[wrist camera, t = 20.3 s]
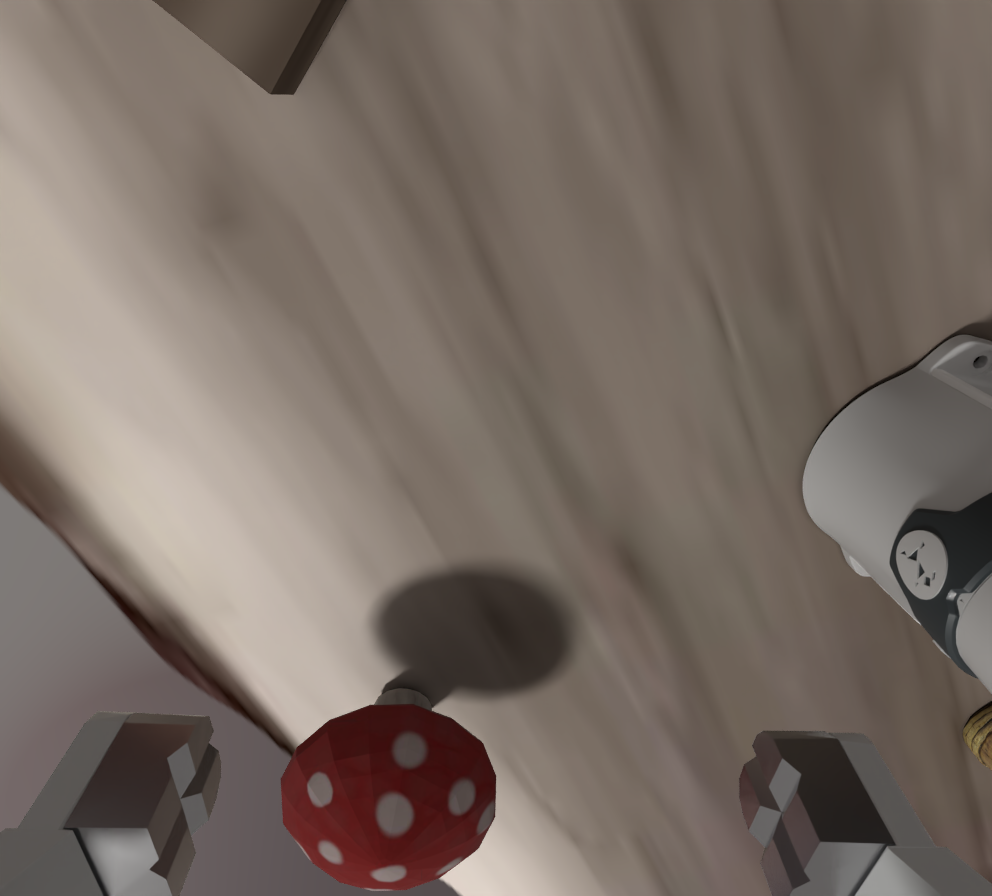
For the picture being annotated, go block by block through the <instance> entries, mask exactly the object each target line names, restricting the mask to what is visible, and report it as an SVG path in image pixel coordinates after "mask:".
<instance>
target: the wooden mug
mask: <svg viewBox="0 0 992 896" xmlns="http://www.w3.org/2000/svg"><path fill="white" fill-rule="evenodd" d="M963 739H964V741H965V743H966V744H967V746H968V747H969V748H970V749H971V751H972V752H973V753H974V754H975V756H976V757H977V758H978V760H979V761H980V762H981V763H982V764H983V765H985V766H987V767H989V768H990V769H991V771H992V703H991V704H989V705H987V706H985V707H984V708H982V709H980V710H979V711H978V712H977V713H975V714H974V715H973V716H972V717H970V719H969V721H968V722H967V724H966V726H965V728H964V730H963Z"/></svg>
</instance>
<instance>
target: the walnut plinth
mask: <svg viewBox="0 0 992 896" xmlns="http://www.w3.org/2000/svg"><path fill="white" fill-rule="evenodd" d="M153 1H154V2H156V3H157V4H158V5H159V6H161V7H162V8H163V9H164V10H166V11H167V12H168V13H169V14H171V15H172V16H173V17H174V18H176V19H177V20H178V21H179V22H181V23H182V24H183V25H184V26H186V27H187V28H188V29H189V30H190V31H192V32H193V33H194V34H195V35H197V36H198V37H199V38H200V39H202V40H203V41H204V42H205V43H207V44H208V45H209V46H210V47H212V48H213V49H214V50H215V51H217V52H218V53H219V54H220V55H222V56H223V57H224V58H225V59H227V60H228V61H229V62H230V63H232V64H233V65H234V66H235V67H237V68H238V69H239V70H240V71H242V72H243V73H244V74H245V75H247V76H248V77H249V78H250V79H252V80H253V81H254V82H255V83H257V84H258V85H259V86H260V87H262V88H263V89H264V90H265V91H267V92H268V93H269V94H291V95H294V93H295V91H296V89H297V87H298V86H299V84H300V82H301V80H302V79H303V77H304V75H305V73H306V71H307V70H308V68H309V66H310V64H311V62H312V61H313V59H314V57H315V55H316V53H317V52H318V50H319V48H320V46H321V45H322V43H323V41H324V39H325V37H326V36H327V34H328V32H329V30H330V28H331V27H332V25H333V23H334V21H335V19H336V18H337V16H338V14H339V12H340V10H341V9H342V7H343V5H344V3H345V2H346V0H153Z"/></svg>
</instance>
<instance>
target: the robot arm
mask: <svg viewBox="0 0 992 896" xmlns="http://www.w3.org/2000/svg"><path fill="white" fill-rule="evenodd" d="M979 356H980V357H979ZM977 357H979V359H978V360H977V361H976V362H975V363H973V362H974V360H975V359H976V358H977ZM803 497H804V502H805V505H806V508H807V511H808V513H809V515H810V516H811V518H812V520H813V521H814V522H815V524H816V525H817V526H818V527H819V528H820V529H821V530H823V531H824V532H825V533H826V534H828V535H829V536H830V537H831V538H833V539H834V540H835V541H836V542H837V543H839V544H840V546H841V549H842V552H843V554H844V557H845V559H846V561H847V563H848V564H849V566H850V567H851V568H852V569H853V570H854V571H855V572H857V573H858V574H859V575H861V576H871V577H872V578H873V579H874V580H875V581H876V582H877V583H878V584H879V585H880V586H881V587H882V588H883V589H884V590H885V591H886V592H887V593H888V594H889V595H890V596H891V597H892V598H893V599H894V600H895V601H896V602H897V603H898V604H899V605H900V606H901V607H902V608H903V609H904V610H905V611H906V612H907V613H908V614H909V615H911V616H912V617H913V618H914V619H915V620H916V621H917V622H918V623H919V624H921V625H922V626H923V627H924V628H925V630H926V631H927V632H928V633H929V634H930V636H931V637H932V638H933V639H934V640H933V642H934V643H935V644H936V646H937V647H938V648H939V649H940V650H941V651H942V652H943V653H944V654H945V655H946V656H948V657H949V658H951V659H952V660H953V661H954V663H955V664H956V665H957V666H958V667H959V668H960V669H962V670H963V671H964V672H966V673H967V674H969V675H971V676H973V677H975V678H977V679H979V680H980V681H981V682H982V683H983V684H984V686H985V687H986V688H987V689H988V690H989V692H990V693H991V694H992V341H989V340H985V339H982V338H978V337H974V336H971V335H958V336H955V337H953V338H951V339H949V340H947V341H946V342H944V343H943V344H941V345H940V346H939V347H938V348H936V349H935V350H934V351H933V352H932V353H930V354H929V355H928V356H927V357H926V358H925V359H924V360H923V361H921V362H920V363H919V364H918V365H917V366H916V367H915V368H913V369H911V370H910V371H908V372H906V373H904V374H902V375H900V376H898V377H896V378H894V379H891V380H889V381H887V382H885V383H883V384H881V385H879V386H877V387H875V388H873V389H872V390H870V391H868V392H867V393H865V394H864V395H862V396H861V397H859V398H858V399H856V400H855V401H854V402H852V403H851V404H850V405H849V406H847V407H846V408H845V409H844V410H843V411H842V412H841V413H840V414H839V415H838V416H837V417H836V418H835V419H834V420H833V421H832V422H831V423H830V424H829V425H828V427H827V428H826V429H825V430H824V432H823V433H822V434H821V436H820V437H819V439H818V440H817V442H816V444H815V446H814V447H813V449H812V451H811V453H810V456H809V458H808V461H807V464H806V467H805V471H804V477H803ZM213 731H214V730H213V727H212V724H211V721H210V717H209V716H193V715H191V716H190V715H171V714H149V713H132V712H100V711H98V712H97V713H96V714H94V715H93V716H92V717H91V718H90V719H89V720H88V721H87V722H86V723H85V724H84V725H83V727H82V729H81V730H80V732H79V733H78V735H77V736H76V738H75V739H74V741H73V743H72V744H71V746H70V747H69V749H68V750H67V752H66V754H65V755H64V757H63V758H62V760H61V761H60V763H59V764H58V766H57V767H56V769H55V771H54V772H53V774H52V775H51V777H50V778H49V780H48V781H47V783H46V785H45V786H44V788H43V789H42V791H41V793H40V794H39V796H38V797H37V799H36V800H35V802H34V803H33V805H32V806H31V808H30V810H29V811H28V813H27V814H26V816H25V817H24V819H23V820H22V822H21V824H20V825H19V827H18V828H7V829H4V830H3V831H2V832H0V896H180V893H181V890H182V888H183V885H184V883H185V880H186V878H187V875H188V872H189V870H190V867H191V864H192V862H193V859H194V857H195V854H196V851H195V848H194V844H193V841H192V838H191V836H192V835H193V834H194V833H195V832H196V831H197V830H198V829H199V828H200V827H201V826H202V825H204V823H206V822H207V821H208V820H209V817H210V815H211V812H212V809H213V806H214V804H215V801H216V798H217V793H218V788H219V783H220V778H221V760H220V755H219V751H218V750H217V749H216V748H214V747H213V746H212V745H210V744H209V741H210V739H211V736H212V733H213ZM752 747H753V749H754V752H755V754H756V757H754V758H753V759H751V760H750V761H748V762H747V763H745V764H744V766H743V769H742V772H741V775H740V778H739V798H740V803H741V808H742V813H743V816H744V819H745V822H746V825H747V827H748V830H749V832H750V833H751V834H752V835H753V836H754V837H755V838H756V839H757V840H758V841H759V842H760V843H761V844H762V845H763V846H764V847H765V848H764V852H763V856H762V859H761V863H760V864H761V866H762V869H763V872H764V875H765V877H766V880H767V883H768V885H769V888H770V891H771V894H772V896H992V884H991V883H990V882H988V881H987V880H986V879H985V878H984V877H982V876H981V875H980V874H979V873H977V872H976V871H975V870H974V869H973V868H971V867H970V866H969V865H968V864H966V863H965V862H964V861H963V860H962V859H960V858H959V857H958V856H957V855H955V854H954V853H953V852H952V851H950V850H949V849H948V848H947V847H936V846H935V844H934V843H933V841H932V839H931V838H930V836H929V834H928V833H927V831H926V829H925V828H924V826H923V825H922V823H921V821H920V820H919V818H918V816H917V815H916V813H915V811H914V810H913V808H912V806H911V805H910V803H909V802H908V800H907V798H906V797H905V795H904V793H903V792H902V790H901V788H900V787H899V785H898V784H897V782H896V780H895V779H894V777H893V775H892V774H891V772H890V770H889V769H888V767H887V766H886V764H885V762H884V761H883V759H882V757H881V756H880V754H879V752H878V751H877V749H876V747H875V746H874V744H873V743H872V741H871V740H870V739H869V738H867V737H866V736H865V735H864V734H860V733H826V732H825V731H762V732H761V733H759V734H757V736H756V738H755V740H754V742H753V745H752Z"/></svg>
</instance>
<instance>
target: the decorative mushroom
mask: <svg viewBox="0 0 992 896" xmlns="http://www.w3.org/2000/svg"><path fill="white" fill-rule="evenodd" d="M281 791H282V810H283V823H284V825H285V827H286V828H287V830H288V831H289V832H290V834H291V835H292V836H293V838H294V839H295V840H296V842H297V843H298V845H299V846H300V847H301V849H302V850H303V852H304V853H305V854H306V856H307V857H308V858H309V859H310V860H311V862H312V863H313V864H315V865H316V866H318V867H319V868H321V869H322V870H323V871H325V872H326V873H327V874H329V875H330V876H332V877H333V878H335V879H336V880H337V881H339V882H341V883H344V884H348V885H352V886H356V887H360V888H363V889H367V890H371V891H385V890H386V891H387V890H407V889H410V888H413V887H415V886H418V885H421V884H424V883H427V882H430V881H432V880H435V879H438V878H440V877H441V876H443V875H444V874H445V873H447V872H448V871H449V870H451V869H452V868H454V867H455V866H456V865H458V864H459V863H460V862H462V861H463V860H464V859H466V858H467V857H468V856H470V855H471V854H472V853H474V852H475V851H476V850H477V849H478V848H479V846H480V845H481V843H482V841H483V839H484V837H485V835H486V833H487V831H488V829H489V827H490V826H491V824H492V822H493V820H494V818H495V800H496V775H495V772H494V770H493V767H492V765H491V762H490V760H489V757H488V754H487V752H486V749H485V747H484V744H483V743H482V742H481V741H480V740H479V739H477V738H476V737H475V736H474V735H472V734H471V733H470V732H469V731H467V730H466V729H465V728H463V727H462V726H461V725H460V724H458V723H457V722H456V721H455V720H453V719H452V718H450V717H447V716H444V715H442V714H439V713H436V712H434V711H432V705H431V704H430V702H429V700H428V699H427V697H425V696H424V695H422V694H421V693H420V692H418V691H414V690H411V689H403V688H397V689H393V690H389V691H387V692H385V693H384V694H382V695H381V696H379V697H378V699H377V701H376V702H375V704H374V705H369V706H366V707H364V708H361V709H358V710H355V711H353V712H350V713H347V714H345V715H342V716H339V717H337V718H334V719H331V720H329V721H328V722H327V723H325V724H324V725H323V726H322V727H321V728H319V729H318V730H317V731H316V732H315V733H314V734H312V735H311V736H310V737H309V738H308V739H306V740H305V741H304V742H303V743H302V744H300V745H299V746H298V747H297V749H296V751H295V752H294V754H293V756H292V758H291V760H290V762H289V764H288V766H287V768H286V770H285V772H284V774H283V776H282V778H281Z"/></svg>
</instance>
